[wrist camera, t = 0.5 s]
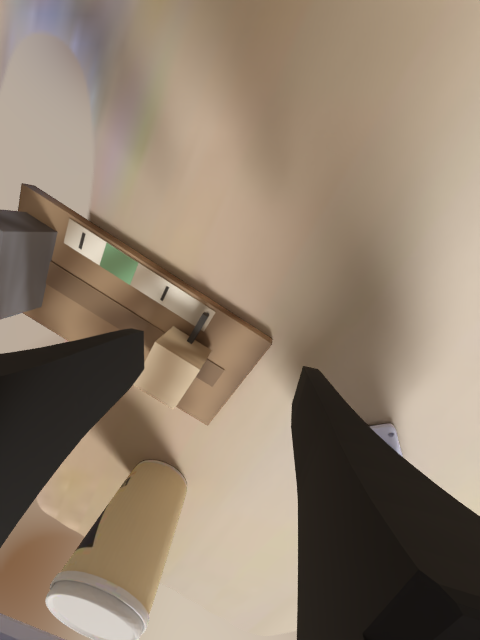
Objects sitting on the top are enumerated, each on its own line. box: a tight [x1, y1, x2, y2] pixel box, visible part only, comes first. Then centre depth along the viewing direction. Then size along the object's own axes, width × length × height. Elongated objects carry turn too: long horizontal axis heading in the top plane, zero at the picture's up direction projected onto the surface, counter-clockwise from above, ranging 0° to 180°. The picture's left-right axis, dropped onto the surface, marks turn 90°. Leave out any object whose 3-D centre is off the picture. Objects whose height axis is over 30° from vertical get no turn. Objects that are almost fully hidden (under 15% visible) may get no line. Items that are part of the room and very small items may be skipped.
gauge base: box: [0, 183, 272, 426], centre depth 19 cm, size 24×12×5 cm, turn 59°
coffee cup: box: [46, 460, 187, 640], centre depth 25 cm, size 9×9×12 cm
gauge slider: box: [133, 312, 212, 410], centre depth 19 cm, size 4×8×3 cm, turn 149°
